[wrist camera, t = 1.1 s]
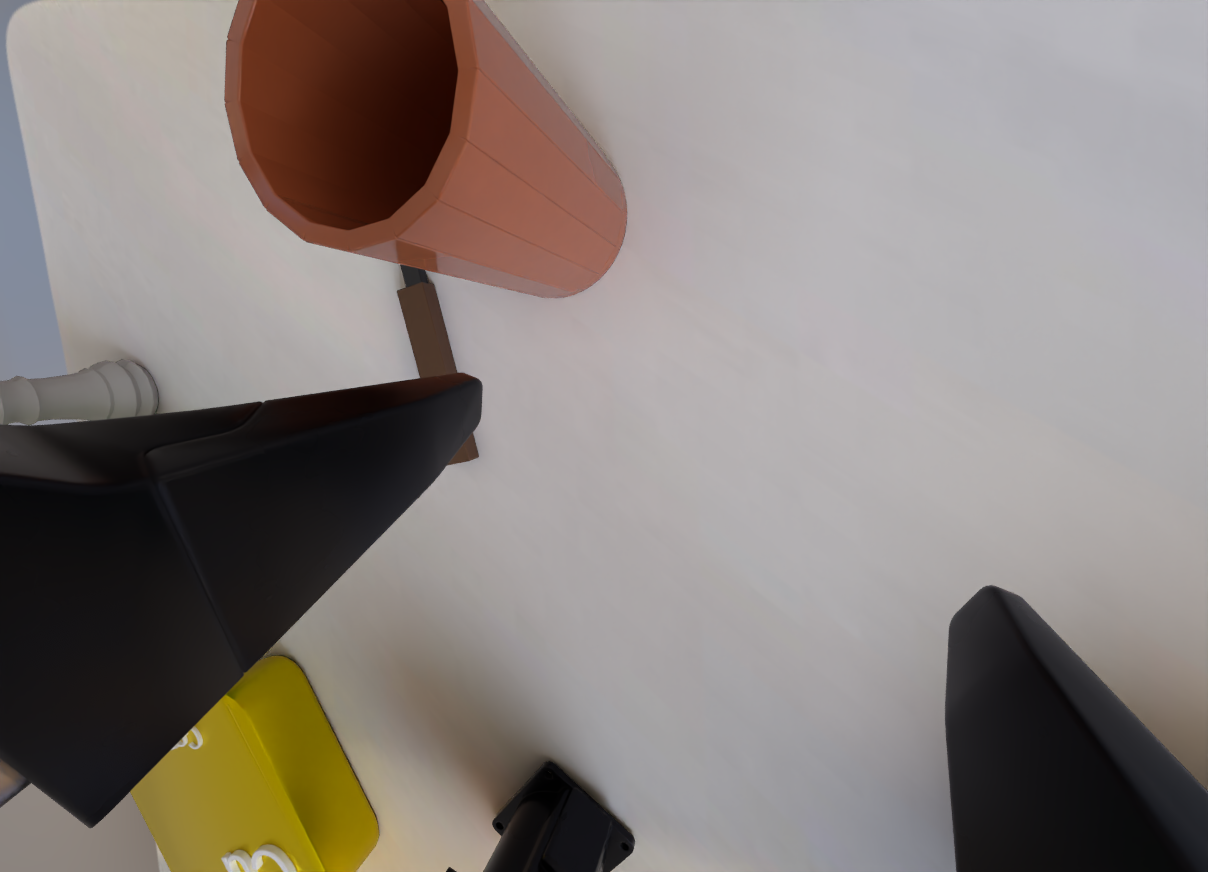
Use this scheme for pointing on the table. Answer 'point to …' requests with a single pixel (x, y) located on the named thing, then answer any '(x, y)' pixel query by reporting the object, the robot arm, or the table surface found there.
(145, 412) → the rook chess piece
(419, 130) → the pot
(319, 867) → the element tile
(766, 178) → the table surface
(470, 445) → the fork
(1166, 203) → the table surface
